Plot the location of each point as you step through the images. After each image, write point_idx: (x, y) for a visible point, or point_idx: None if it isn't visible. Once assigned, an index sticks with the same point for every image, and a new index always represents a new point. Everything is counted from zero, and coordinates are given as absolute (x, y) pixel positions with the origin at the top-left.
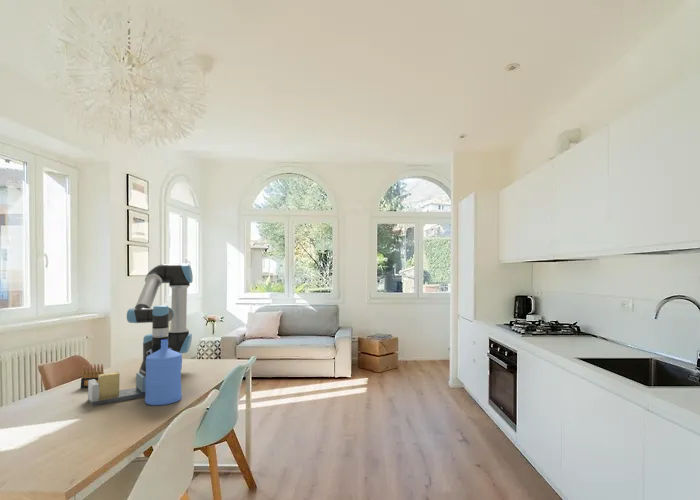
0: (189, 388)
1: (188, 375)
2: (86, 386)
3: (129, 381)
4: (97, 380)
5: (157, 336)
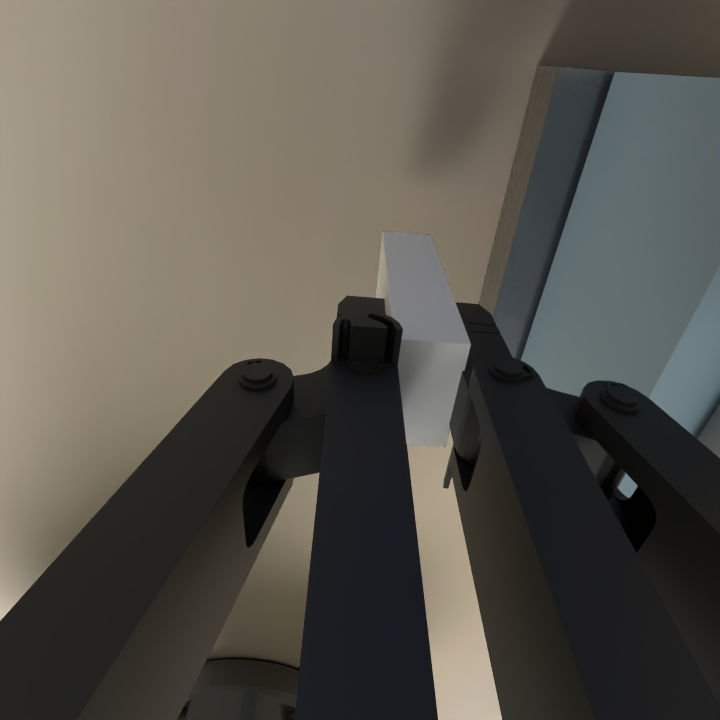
0: (6, 35)
1: (17, 545)
2: None
3: (445, 631)
4: None
5: None
